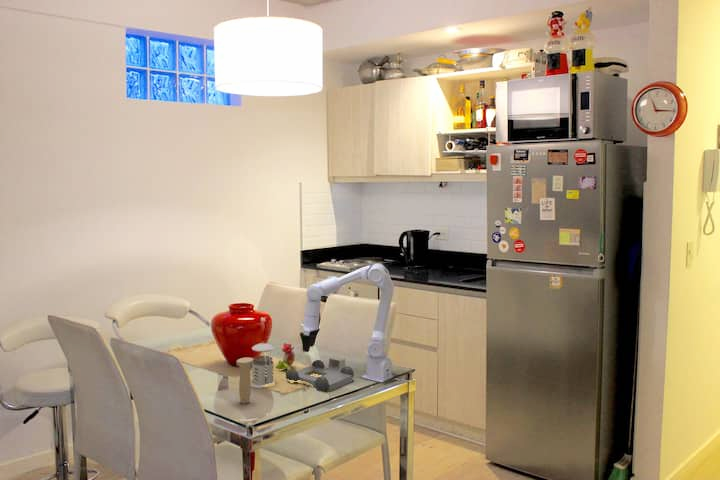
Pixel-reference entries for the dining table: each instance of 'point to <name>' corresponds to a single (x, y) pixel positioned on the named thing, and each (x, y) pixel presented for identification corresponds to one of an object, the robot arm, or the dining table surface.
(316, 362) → the chassis
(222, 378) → the dining table surface
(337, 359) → the beige block
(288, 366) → the bird rattle
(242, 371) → the handle
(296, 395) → the dining table surface
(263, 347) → the french press
